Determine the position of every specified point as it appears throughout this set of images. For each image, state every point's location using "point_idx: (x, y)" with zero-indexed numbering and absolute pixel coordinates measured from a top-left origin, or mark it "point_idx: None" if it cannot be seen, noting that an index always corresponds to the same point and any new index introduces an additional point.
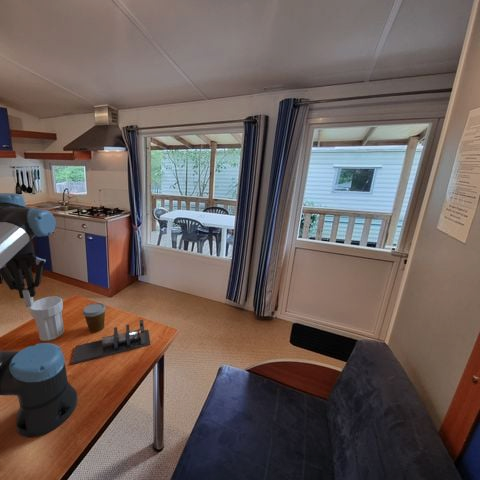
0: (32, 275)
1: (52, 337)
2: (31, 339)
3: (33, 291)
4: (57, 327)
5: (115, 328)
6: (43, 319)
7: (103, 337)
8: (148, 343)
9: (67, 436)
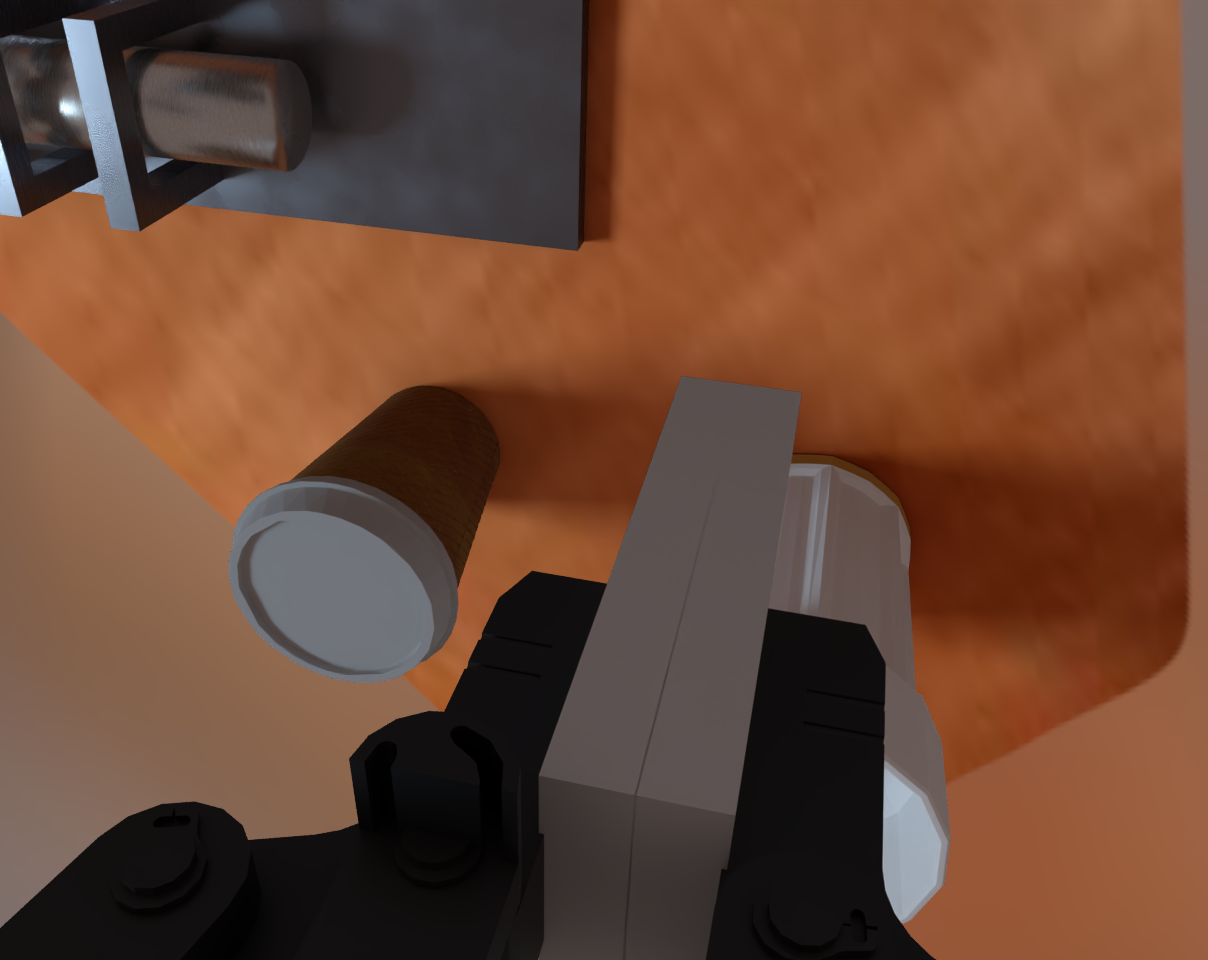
0: None
1: (794, 477)
2: (976, 558)
3: (454, 708)
4: None
5: (120, 206)
6: None
7: (255, 148)
8: None
9: None
